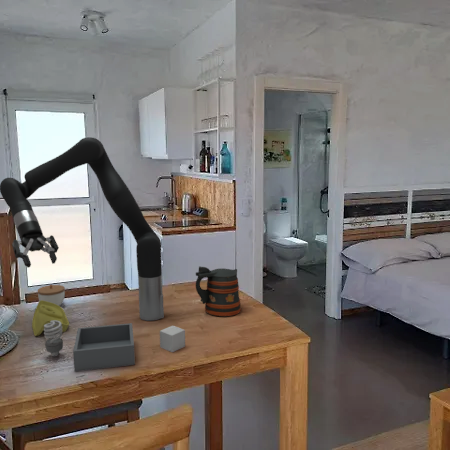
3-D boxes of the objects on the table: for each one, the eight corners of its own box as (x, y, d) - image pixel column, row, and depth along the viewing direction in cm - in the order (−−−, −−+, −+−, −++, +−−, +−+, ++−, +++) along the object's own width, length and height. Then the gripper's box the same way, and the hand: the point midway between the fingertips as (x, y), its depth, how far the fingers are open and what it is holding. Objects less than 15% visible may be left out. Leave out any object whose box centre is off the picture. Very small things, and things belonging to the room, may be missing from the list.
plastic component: (70, 325, 167) (43, 319, 161) (62, 344, 167) (35, 338, 161) (61, 305, 183) (37, 298, 178) (54, 321, 184) (29, 315, 178)
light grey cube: (160, 347, 154) (159, 330, 153) (173, 341, 158) (172, 325, 157) (172, 352, 150) (171, 335, 149) (185, 346, 155) (184, 329, 154)
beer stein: (206, 322, 175) (205, 272, 171) (189, 310, 187) (188, 263, 184) (247, 313, 185) (247, 265, 181) (228, 302, 197) (228, 257, 193)
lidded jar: (42, 312, 186) (41, 290, 184) (36, 305, 194) (34, 284, 192) (69, 307, 192) (67, 285, 190) (61, 300, 200) (60, 279, 199)
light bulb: (48, 352, 150) (46, 318, 148) (66, 351, 151) (63, 317, 148) (43, 360, 145) (40, 325, 142) (61, 359, 145) (59, 324, 143)
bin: (132, 340, 159) (132, 323, 158) (134, 364, 142) (134, 345, 141) (79, 346, 155) (77, 328, 154) (74, 371, 138) (73, 351, 137)
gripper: (9, 221, 154) (23, 261, 148) (50, 217, 164) (65, 255, 158) (4, 234, 159) (18, 273, 152) (44, 229, 168) (59, 266, 162)
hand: (42, 264), depth 155 cm, fingers open, 8 cm apart
